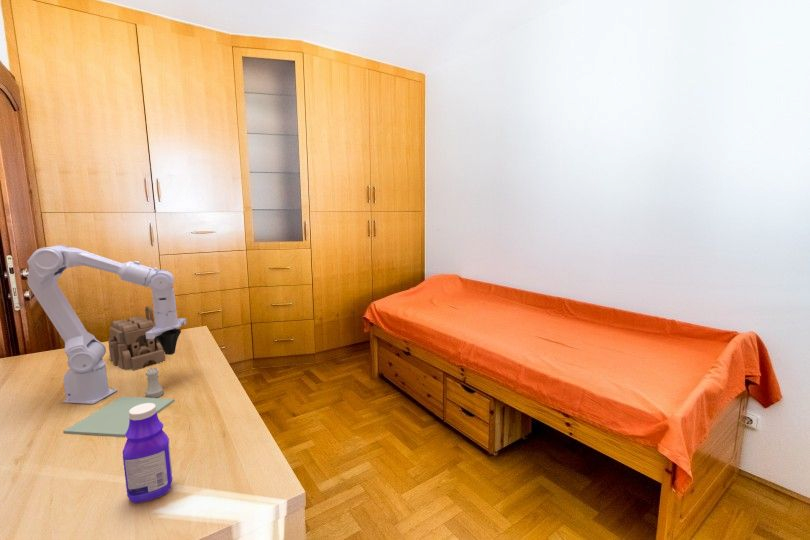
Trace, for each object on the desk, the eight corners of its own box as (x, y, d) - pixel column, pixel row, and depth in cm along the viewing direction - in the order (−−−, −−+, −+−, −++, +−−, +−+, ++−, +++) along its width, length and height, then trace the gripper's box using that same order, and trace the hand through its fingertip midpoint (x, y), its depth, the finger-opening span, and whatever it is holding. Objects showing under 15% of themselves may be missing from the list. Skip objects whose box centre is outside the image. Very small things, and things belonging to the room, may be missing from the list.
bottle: (174, 477, 76) (166, 396, 73) (173, 495, 71) (163, 410, 68) (130, 489, 72) (120, 405, 69) (125, 510, 67) (113, 420, 65)
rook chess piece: (154, 400, 106) (151, 373, 105) (141, 398, 107) (138, 372, 106) (167, 392, 111) (164, 367, 109) (154, 391, 112) (152, 365, 110)
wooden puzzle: (103, 358, 137) (96, 308, 134) (148, 346, 149) (143, 300, 146) (125, 373, 124) (118, 319, 121) (173, 359, 136) (168, 309, 133)
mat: (63, 433, 91) (63, 430, 90) (122, 398, 107) (122, 396, 107) (124, 436, 89) (124, 434, 89) (174, 401, 106) (174, 399, 106)
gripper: (160, 318, 105) (165, 363, 107) (193, 305, 119) (197, 345, 122) (136, 317, 106) (142, 363, 108) (172, 304, 120) (177, 345, 122)
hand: (170, 353), depth 115 cm, fingers closed
